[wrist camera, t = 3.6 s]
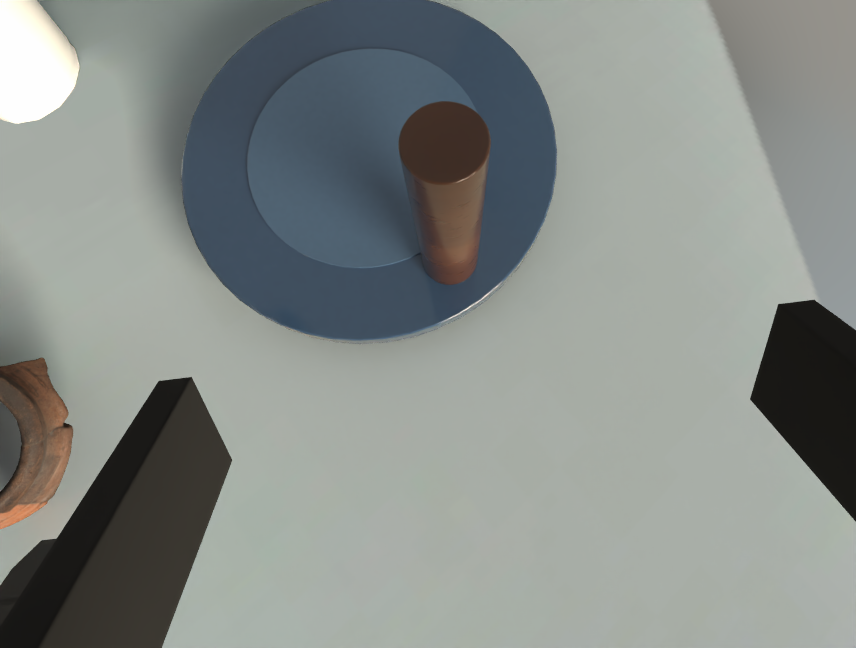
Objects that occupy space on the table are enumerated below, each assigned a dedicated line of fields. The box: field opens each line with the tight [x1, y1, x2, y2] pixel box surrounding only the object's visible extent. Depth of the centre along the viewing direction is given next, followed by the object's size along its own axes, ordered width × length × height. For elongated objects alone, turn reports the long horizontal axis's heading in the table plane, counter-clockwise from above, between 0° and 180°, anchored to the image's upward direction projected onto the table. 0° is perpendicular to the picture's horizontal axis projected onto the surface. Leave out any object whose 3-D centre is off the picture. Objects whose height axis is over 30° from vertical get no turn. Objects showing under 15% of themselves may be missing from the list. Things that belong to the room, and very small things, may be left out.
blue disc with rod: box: [181, 0, 557, 344], centre depth 21 cm, size 19×19×11 cm
